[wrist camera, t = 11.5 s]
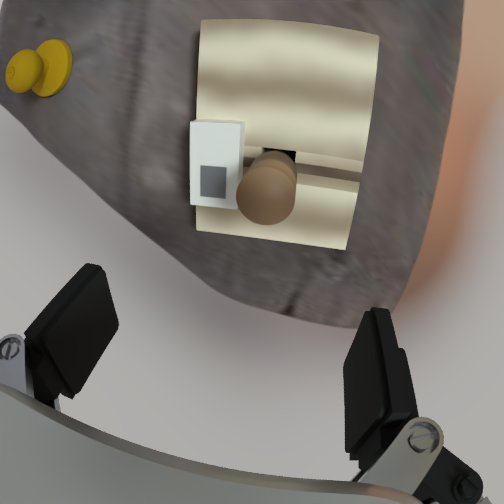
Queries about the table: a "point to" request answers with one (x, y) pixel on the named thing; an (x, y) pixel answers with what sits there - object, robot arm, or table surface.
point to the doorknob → (40, 68)
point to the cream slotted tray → (292, 116)
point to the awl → (268, 188)
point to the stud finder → (216, 161)
